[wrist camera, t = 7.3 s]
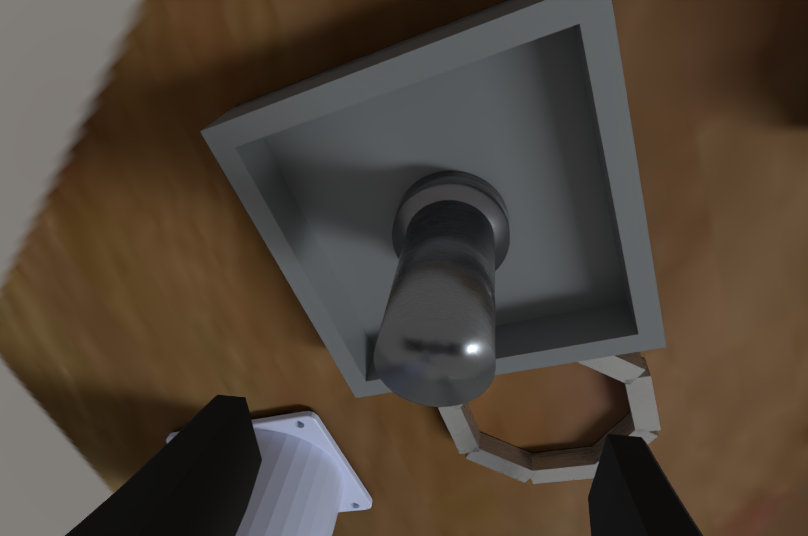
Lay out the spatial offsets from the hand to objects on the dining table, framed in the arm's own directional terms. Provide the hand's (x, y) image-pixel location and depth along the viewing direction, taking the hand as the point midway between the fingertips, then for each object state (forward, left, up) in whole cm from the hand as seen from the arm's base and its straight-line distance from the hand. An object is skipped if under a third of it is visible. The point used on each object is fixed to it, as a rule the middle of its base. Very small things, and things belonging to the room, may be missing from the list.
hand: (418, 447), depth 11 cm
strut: (0, 0, -10) cm, 10 cm away
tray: (0, 0, -10) cm, 10 cm away
